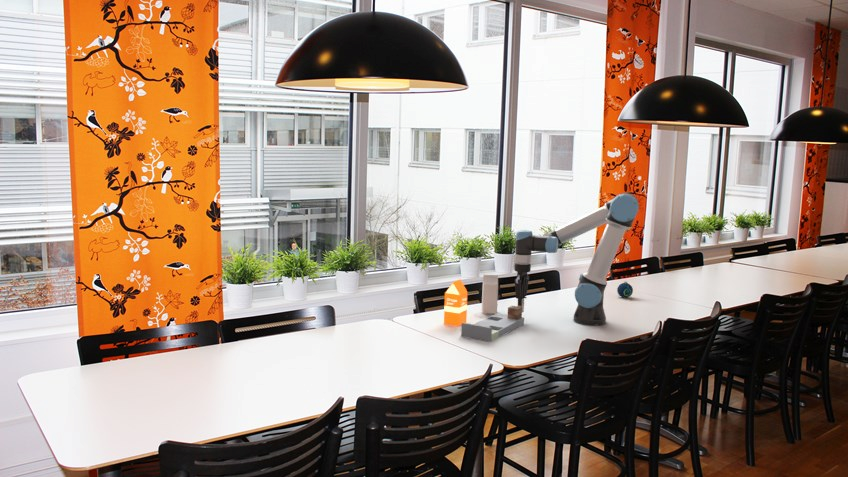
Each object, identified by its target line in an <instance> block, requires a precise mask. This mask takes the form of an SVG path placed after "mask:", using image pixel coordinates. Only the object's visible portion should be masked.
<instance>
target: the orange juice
mask: <svg viewBox="0 0 848 477" xmlns="http://www.w3.org/2000/svg"><path fill="white" fill-rule="evenodd" d="M443 308H444V309H443V310H444V311H443V313H444V314H443V316H444V318H443V324H444V325H451V326H456V327H459V326H462V323H467V315H468V313H467V312H468V291H467V288H466V287H465V285H464V283H463V281H462V280H461V279H458V280H455V281H452V283H451V285H450V286H449V287H448V288H447V290H446V291H445V292H444V307H443Z"/></svg>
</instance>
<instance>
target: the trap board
mask: <svg viewBox="0 0 848 477" xmlns="http://www.w3.org/2000/svg"><path fill="white" fill-rule="evenodd" d="M507 317H508V314H504V313H498V312H497V313H496V314H492V315H490V316H488V317H486V318H483V319H481V320H479V321H477V322H475V323H473V324H472V323H467V322H465V323H462V325H461V330H460V331H461V333H460V335H461V336H460V337H462V338H463V337H464V338H468V339H473V340H478V341H483V342H488V343H491V342H493V341H495V340H497V339H499V338H501V337H502V336H504V335H506V334H507V333H510V332H511V331H513V330H515V329H517V328H519V327H521V326H523V325H524V323H525V317H523V316H522V318H520V319H518V320H516V319H510V318H507Z"/></svg>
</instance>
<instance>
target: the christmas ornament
mask: <svg viewBox="0 0 848 477" xmlns="http://www.w3.org/2000/svg"><path fill="white" fill-rule="evenodd" d="M616 290H617V294H618V296H619V297H621V298H624V299H628V298H630V297H632V295H633V292H634V289H633V286H632V285H631V284H630V283H628V280H624V281H623V282H622V283H620V284H619V285H618V286H617V288H616Z"/></svg>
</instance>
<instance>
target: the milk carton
mask: <svg viewBox="0 0 848 477" xmlns="http://www.w3.org/2000/svg"><path fill="white" fill-rule="evenodd" d="M498 276H499V275H498V274H483V277H482V288H481V290H482V293H481V294H482V295H481V313H482V314H487V315H488V314H489V315H490V314H492V315H494V314H496V313H498V299H499V298H498V297H499V296H498V295H499V277H498Z"/></svg>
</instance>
